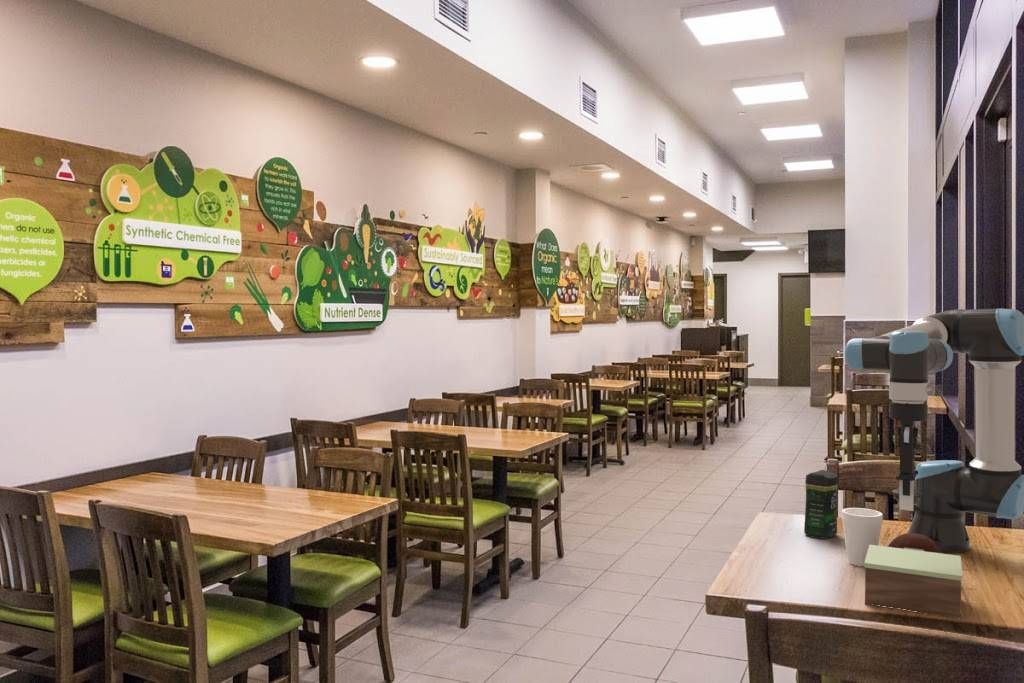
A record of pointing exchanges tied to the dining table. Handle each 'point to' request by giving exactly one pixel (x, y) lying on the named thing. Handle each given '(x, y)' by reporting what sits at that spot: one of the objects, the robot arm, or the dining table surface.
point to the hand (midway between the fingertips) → (907, 506)
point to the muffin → (915, 542)
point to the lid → (914, 562)
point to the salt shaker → (916, 493)
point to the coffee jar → (821, 504)
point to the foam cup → (860, 532)
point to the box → (913, 592)
